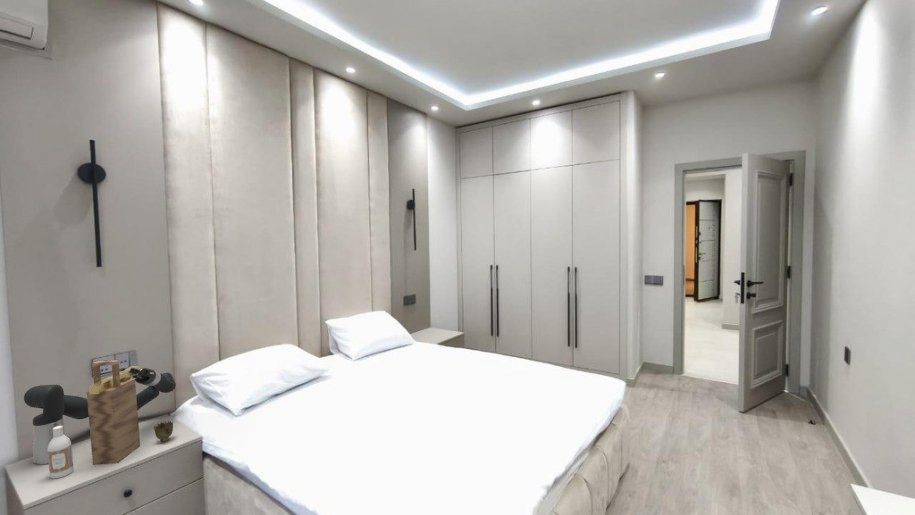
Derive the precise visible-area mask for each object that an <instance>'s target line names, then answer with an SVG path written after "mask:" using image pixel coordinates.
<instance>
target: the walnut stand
mask: <svg viewBox="0 0 915 515" xmlns="http://www.w3.org/2000/svg"><path fill="white" fill-rule="evenodd" d="M119 361H120V360H119V359H117V360H116V359H115V360H103V361H102V360H100V361H99V360H98V361H93V362H91V364H92V374H93V376H92V377H93V384H95V383H97V382H99V381H101V380H102V371H101V367H103V366H104V367H105V366H106V367H107V366H111V372H112V373H111V374H112V375H111V376H113V387H111V388H109V389H107V390H105V391H103V392H101V393H100V394H89V391H87V392H86V399H87V402H88V413H89V417H88V422H89V423H88V424H89V436H90V446H91V457H92V459H91V460H92V465H93V466H98V465H108V464H110V465H111V464H119V463H121V462H122V461H123V460H124V459H125V458H127V457H128V456H129V455H131V454H132V453H133V452H134V451H136V450H137V449H138V448H140V446H141V442H140V441H141V439H140V428H139V427H140V426H139V416H138V415H139V414H138V411H137V399H136V395H137V388H136V387H137V386H136V381H135V379H133V378H130V377H127V378H125V379H123V380H122V382H121V383H120V373H119V372H120V362H119Z"/></svg>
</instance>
